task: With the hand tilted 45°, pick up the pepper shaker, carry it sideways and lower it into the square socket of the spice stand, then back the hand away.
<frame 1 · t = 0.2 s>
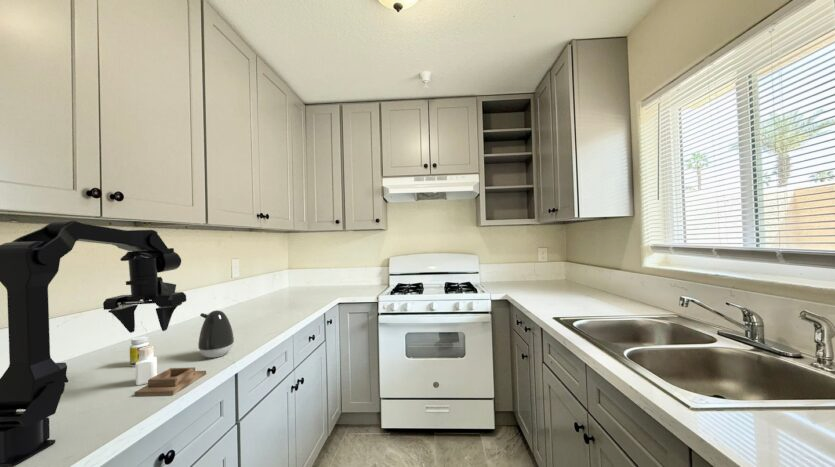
hand: (148, 331, 86), 14 cm above the worktop, tool pointing down, fingers open, 9 cm apart
spice stand: (172, 384, 85), on the worktop
pepper shaker: (147, 382, 87), on the worktop
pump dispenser: (216, 355, 106), on the worktop
supplement bottle: (140, 364, 100), on the worktop
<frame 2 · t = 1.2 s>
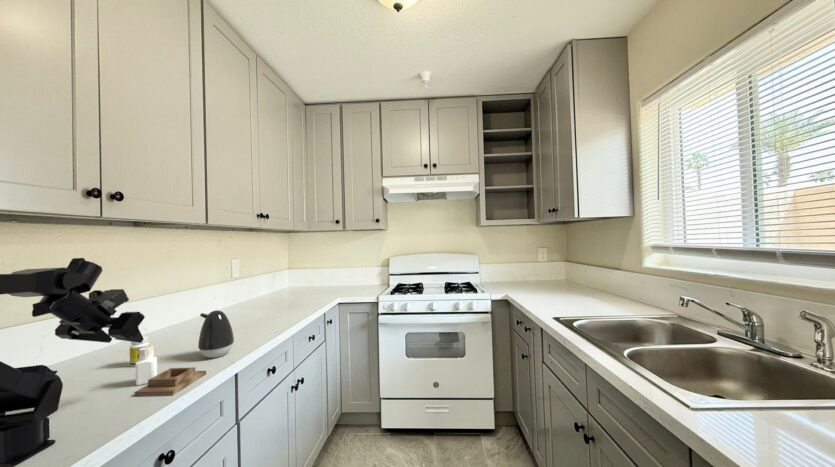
hand: (126, 340, 82), 13 cm above the worktop, tool tilted 45°, fingers open, 9 cm apart
nothing on the worktop moved.
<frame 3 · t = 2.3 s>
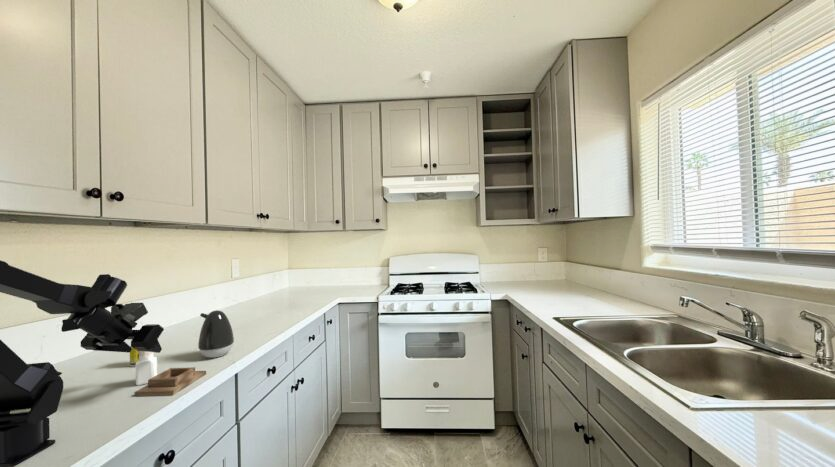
hand: (145, 350, 87), 9 cm above the worktop, tool tilted 45°, fingers open, 9 cm apart
nothing on the worktop moved.
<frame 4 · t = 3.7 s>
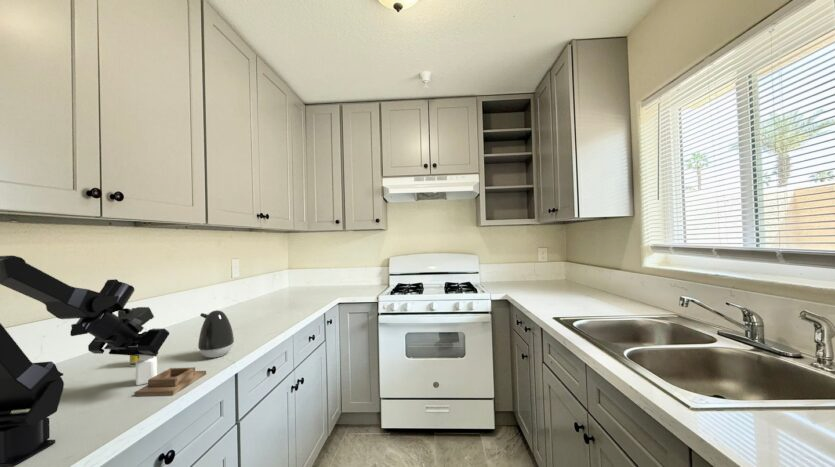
hand: (151, 354, 88), 7 cm above the worktop, tool tilted 45°, fingers closed on pepper shaker, 3 cm apart
pepper shaker: (147, 382, 87), on the worktop, touching gripper
everything else where it was.
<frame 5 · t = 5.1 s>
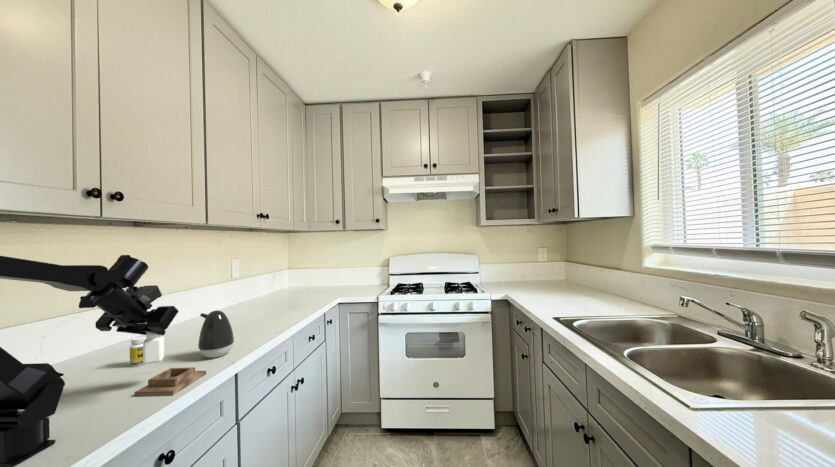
hand: (158, 333, 87), 13 cm above the worktop, tool tilted 45°, fingers closed on pepper shaker, 3 cm apart
pepper shaker: (153, 362, 86), point 6 cm above the worktop, touching gripper
everything else where it was.
when the fingers open (9 cm above the worktop, at t = 6.9 s): pepper shaker stays where it is, resting on spice stand.
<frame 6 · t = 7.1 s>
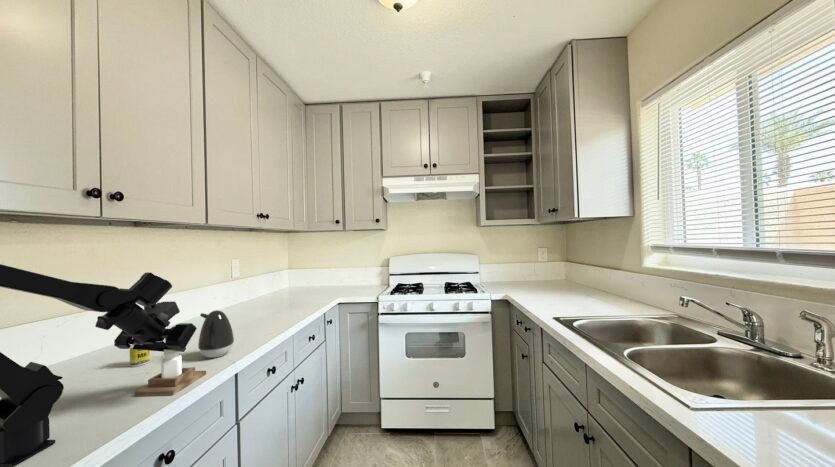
hand: (176, 350, 86), 9 cm above the worktop, tool tilted 45°, fingers open, 5 cm apart
pepper shaker: (172, 381, 84), point 1 cm above the worktop, touching spice stand
everything else where it was.
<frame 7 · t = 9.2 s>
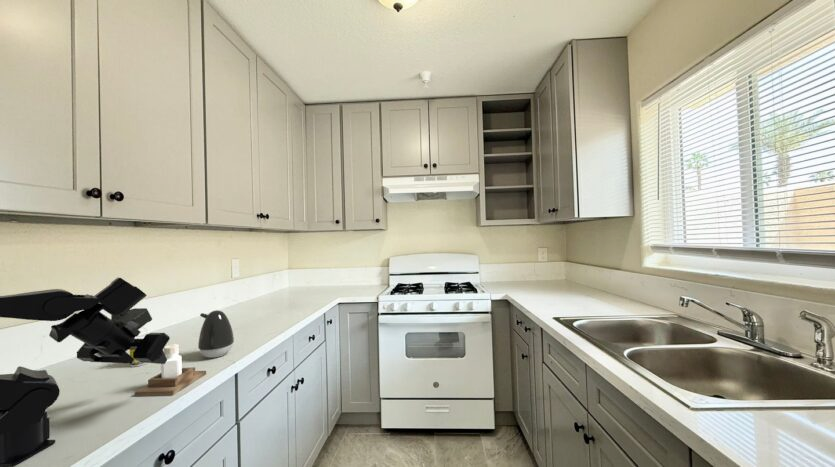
hand: (148, 361, 78), 9 cm above the worktop, tool tilted 45°, fingers open, 9 cm apart
nothing on the worktop moved.
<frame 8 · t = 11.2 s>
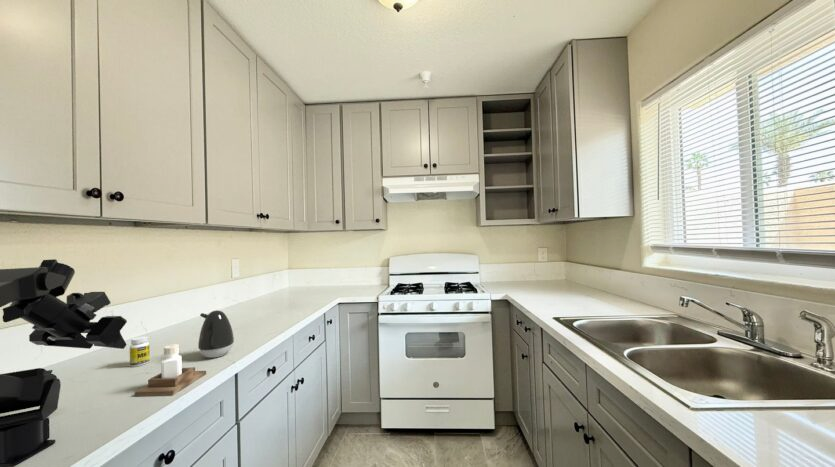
hand: (107, 346, 76), 14 cm above the worktop, tool tilted 45°, fingers open, 9 cm apart
nothing on the worktop moved.
at the end: pepper shaker 0.2 cm from the spice stand (horizontally); pepper shaker point 0.8 cm above the worktop; pepper shaker tilted 0° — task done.
